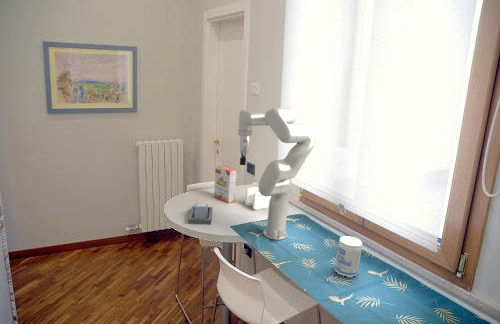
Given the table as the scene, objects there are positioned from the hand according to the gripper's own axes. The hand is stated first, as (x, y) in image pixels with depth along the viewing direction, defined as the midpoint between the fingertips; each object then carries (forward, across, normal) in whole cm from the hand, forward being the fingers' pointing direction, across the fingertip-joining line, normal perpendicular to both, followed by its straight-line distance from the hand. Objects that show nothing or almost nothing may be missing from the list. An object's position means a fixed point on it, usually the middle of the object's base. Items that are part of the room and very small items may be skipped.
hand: (242, 164), depth 209 cm
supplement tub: (+29, -63, -44) cm, 82 cm away
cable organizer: (+29, +12, -13) cm, 34 cm away
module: (+29, -9, +21) cm, 37 cm away
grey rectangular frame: (+29, -9, +22) cm, 37 cm away
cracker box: (+29, +22, +9) cm, 38 cm away
